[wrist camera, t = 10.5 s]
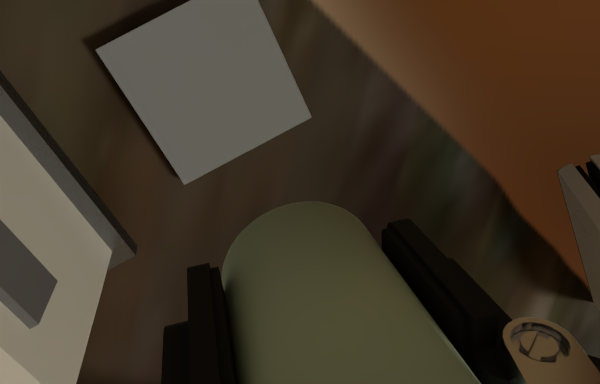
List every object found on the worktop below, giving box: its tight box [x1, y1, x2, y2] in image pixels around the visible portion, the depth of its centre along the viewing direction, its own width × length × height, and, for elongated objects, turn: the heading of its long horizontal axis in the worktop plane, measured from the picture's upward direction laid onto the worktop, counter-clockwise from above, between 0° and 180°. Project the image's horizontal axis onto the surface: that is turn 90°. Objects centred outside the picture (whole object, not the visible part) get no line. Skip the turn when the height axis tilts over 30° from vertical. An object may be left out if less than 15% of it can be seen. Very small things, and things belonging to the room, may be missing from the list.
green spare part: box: [222, 202, 481, 384], centre depth 10 cm, size 4×4×7 cm
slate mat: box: [96, 0, 311, 185], centre depth 26 cm, size 9×9×1 cm
